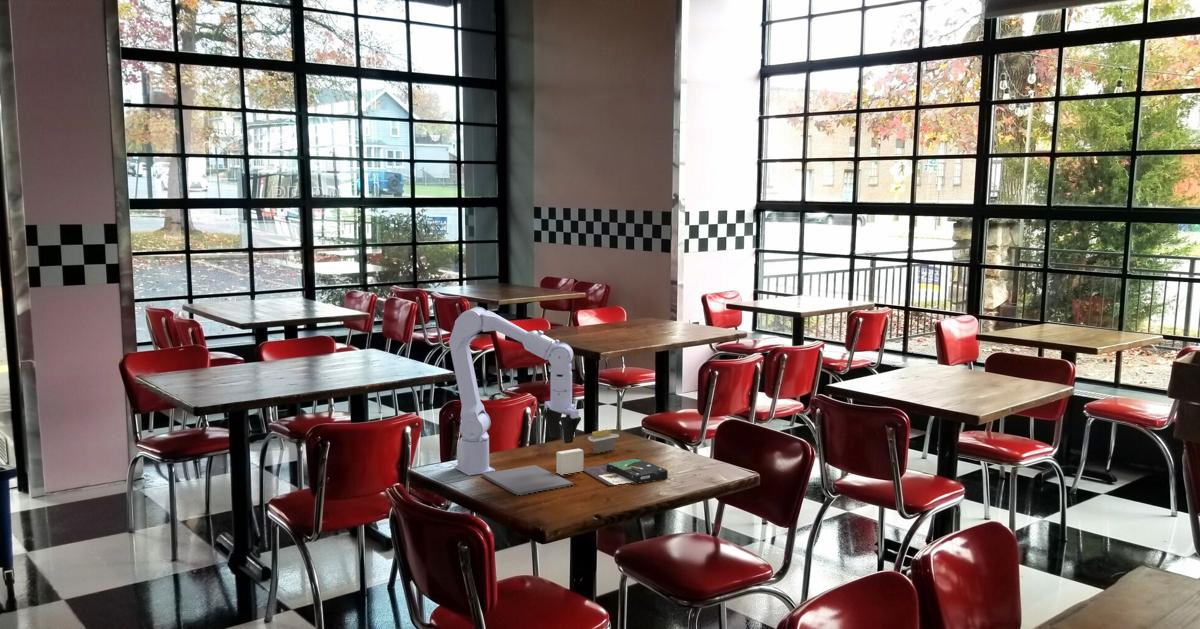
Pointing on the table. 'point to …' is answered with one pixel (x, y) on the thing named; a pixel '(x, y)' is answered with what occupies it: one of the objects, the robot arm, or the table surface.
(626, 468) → the disk drive
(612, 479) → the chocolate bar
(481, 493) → the table surface
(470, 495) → the table surface
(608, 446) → the grey rimmed container
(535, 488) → the mat
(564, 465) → the tile
